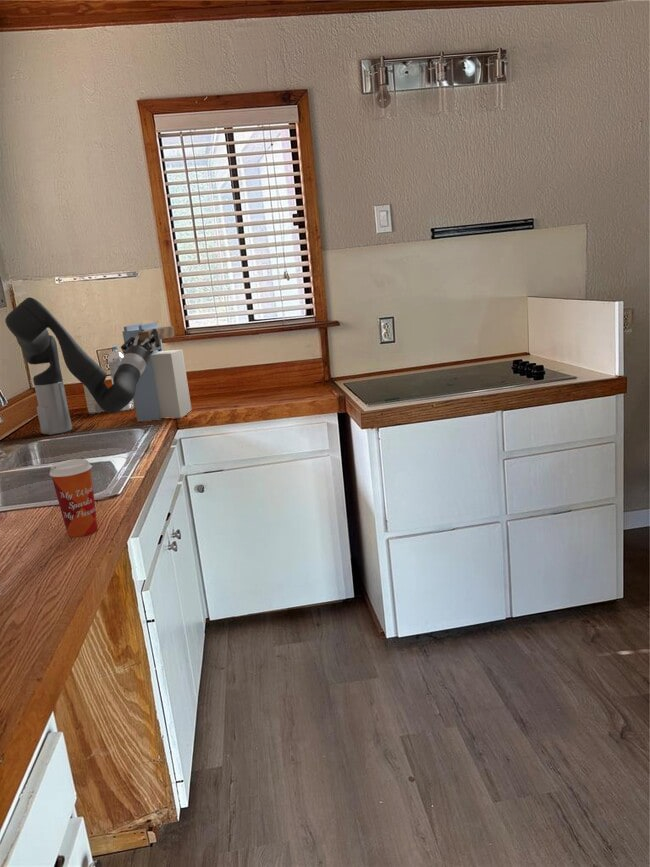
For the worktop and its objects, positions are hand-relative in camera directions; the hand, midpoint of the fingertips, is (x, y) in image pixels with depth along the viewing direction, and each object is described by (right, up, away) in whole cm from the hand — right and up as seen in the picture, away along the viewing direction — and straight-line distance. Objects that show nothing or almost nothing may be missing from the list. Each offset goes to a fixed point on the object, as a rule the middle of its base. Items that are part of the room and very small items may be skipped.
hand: (149, 331), depth 212 cm
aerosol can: (-32, -26, +42) cm, 59 cm away
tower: (-4, -28, +21) cm, 35 cm away
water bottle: (-21, -25, +42) cm, 53 cm away
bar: (+1, -2, +6) cm, 6 cm away
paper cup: (+11, -53, -86) cm, 102 cm away
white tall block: (+4, -27, +20) cm, 34 cm away
